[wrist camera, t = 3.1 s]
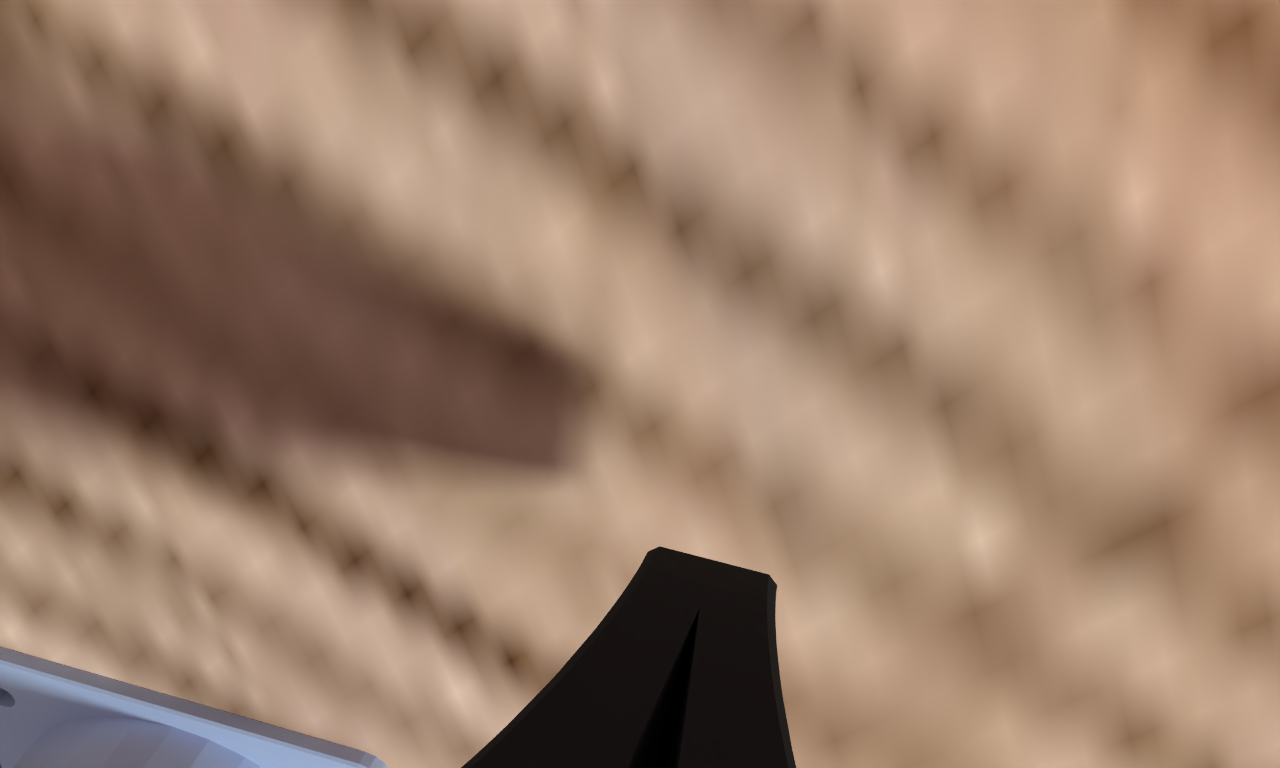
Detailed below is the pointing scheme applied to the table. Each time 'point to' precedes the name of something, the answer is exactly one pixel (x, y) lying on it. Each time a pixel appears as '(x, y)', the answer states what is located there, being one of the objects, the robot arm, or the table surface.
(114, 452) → the table surface
